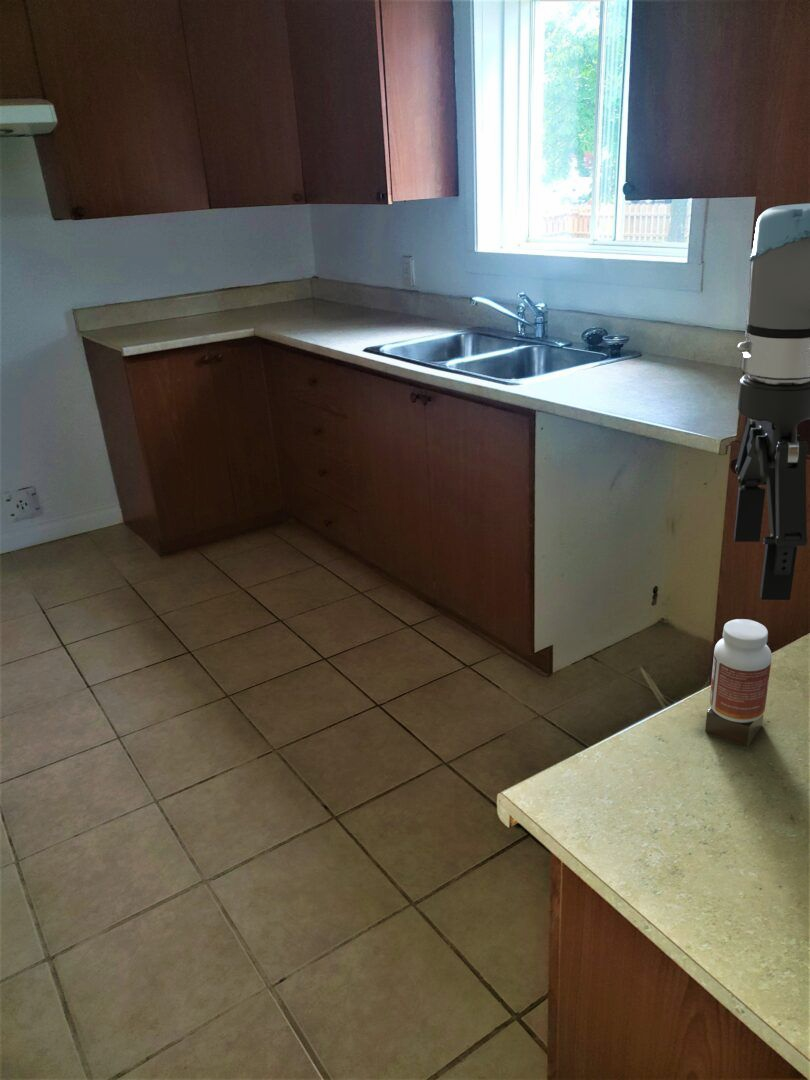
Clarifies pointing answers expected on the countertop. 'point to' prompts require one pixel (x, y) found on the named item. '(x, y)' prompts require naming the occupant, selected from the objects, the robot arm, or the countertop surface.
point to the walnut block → (732, 728)
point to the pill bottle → (741, 671)
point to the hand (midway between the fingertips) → (759, 567)
